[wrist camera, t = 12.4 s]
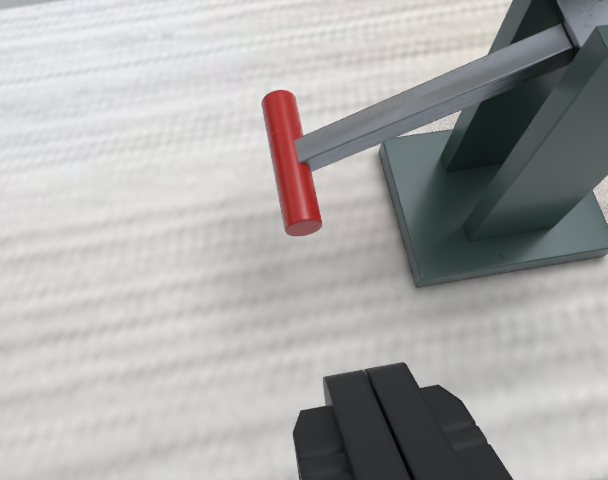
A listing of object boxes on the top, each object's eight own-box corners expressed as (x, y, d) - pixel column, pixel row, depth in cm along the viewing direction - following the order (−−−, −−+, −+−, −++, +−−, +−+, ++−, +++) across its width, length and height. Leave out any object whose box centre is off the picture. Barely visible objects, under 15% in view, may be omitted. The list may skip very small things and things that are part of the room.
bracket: (415, 287, 28) (530, 110, 15) (378, 151, 31) (445, -97, 18) (605, 256, 29) (874, 62, 15) (550, 126, 32) (735, -127, 19)
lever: (301, 243, 22) (272, 225, 20) (277, 120, 25) (248, 93, 23) (697, 99, 18) (711, 56, 16) (621, -38, 20) (624, -91, 18)
